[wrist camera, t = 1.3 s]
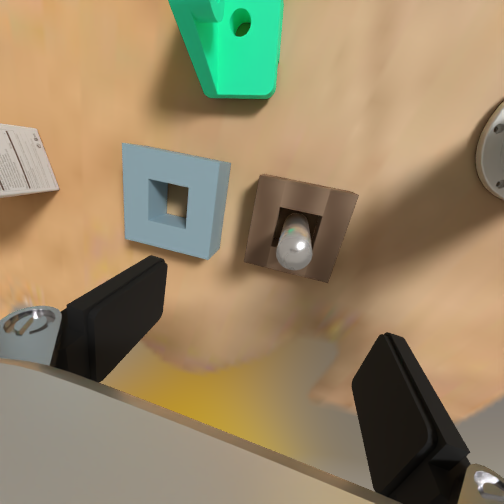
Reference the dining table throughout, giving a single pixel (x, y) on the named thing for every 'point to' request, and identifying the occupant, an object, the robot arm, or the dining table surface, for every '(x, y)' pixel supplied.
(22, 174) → the supplement box
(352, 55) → the dining table surface
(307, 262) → the steel pin
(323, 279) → the walnut mount block
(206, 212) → the socket block
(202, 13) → the camera mount
